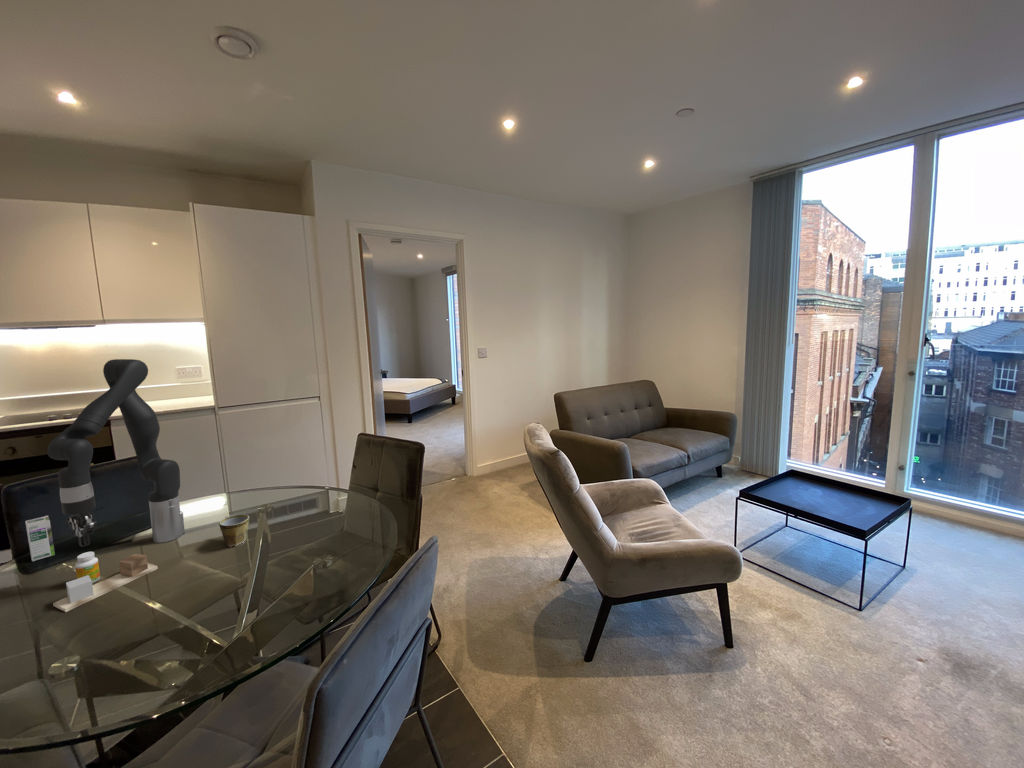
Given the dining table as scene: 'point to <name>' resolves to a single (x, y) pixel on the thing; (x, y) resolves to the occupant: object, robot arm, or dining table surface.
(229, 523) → the ceramic cup
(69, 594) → the grey block
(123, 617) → the dining table surface
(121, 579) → the birch strip
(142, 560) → the walnut block
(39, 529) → the syrup box
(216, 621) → the dining table surface
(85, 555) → the supplement bottle
